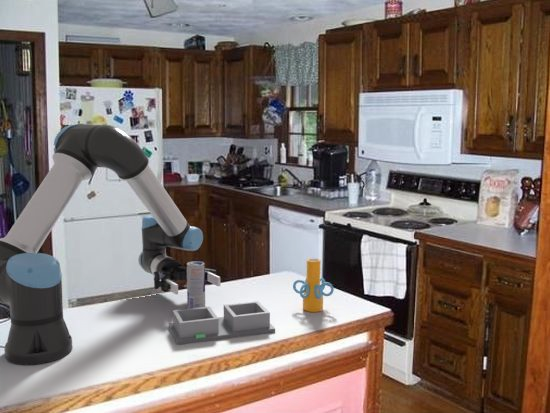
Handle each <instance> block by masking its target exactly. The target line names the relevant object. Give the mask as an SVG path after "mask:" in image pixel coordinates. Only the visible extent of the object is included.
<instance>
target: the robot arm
mask: <svg viewBox="0 0 550 413" xmlns="http://www.w3.org/2000/svg"><path fill="white" fill-rule="evenodd" d="M53 145H54V148H53V154H52V157H51V158H52V161H53V165H52V166H51V168H50V169H49V171H48V173H47V174H46V175H45V177H44V179H43V180H42V181H41V183H40V185H39V186H38V188H37V189H36V191H34V194H33V195H32V196H31V198H30V199H29V201H28V202H27V204H26V206H25V207H24V208H23V209H22V211H21V213H20V214H19V216H18V217H17V219H16V220H15V222H14V224H13V225H12V226H11V228H10V230H9V231H8V233H7V234H6V235H5V237H0V303H1V304H4V305H7V306H9V313H10V328H9V331H8V335H7V340H6V343H5V345H4V357H5V360H6V361H8V362H9V363H12V364H14V365H15V364H16V365H25V366H26V365H38V364H45V363H50V362H53V361H56V360H60V359H61V358H62V359H63V358H64V357H65V356H67V355H68V354H70V353H71V352H72V350H73V338H72V336H71V334H70V331H69V329H68V327H67V326H68V325H67V324H66V323H67V322H65V319H64V308H63V307H64V306H63V304H64V303H63V284H62V280H63V278H62V277H63V275H62V274H63V273H62V270H61V265H60V261H59V260H58V258H56V257H55V256H53V255H50V254H48V253H43V252H42V253H41V252H39V250H40V249H41V247H42V246H43V244H44V243H45V240H47V237H48V236H49V234H50V233H51V231H52V230H53V228H54V226H55V225H56V223H57V222H58V220H59V218H60V217H61V215H62V214H63V212H64V210H65V209H66V207H67V206H68V204H69V203H70V201H71V199H72V198H73V196H74V195H75V193H76V191H77V190H78V188H79V187H80V185H81V184H82V181H86V180H90V179H92V177H93V175H94V173H95V172H96V170H97V169H98V168H106V169H109V170H111V171H113V172H114V173H115V174H116V175H117V177H118V178H119V179H120V180H123V181H126V182H127V185H129V187H130V188H131V189H132V191H133V192H134V193H135V195H136V196H137V197H138V199H139V200H140V201H141V202H142V204H143V206H145V208H146V210H147V211H148V212H149V214H150V215H149V214H147V215H145V216H143V217H142V219H141V239H142V240H141V241H142V243H141V244H142V250H141V252H140V253H139V255H138V265H139V266H140V268H141V269H143V271H144V272H146V273H148V274H151V275H152V276H153V284H154V285H153V286H154V289H155V290H159V288H160V291H161V292H165V291H166V290H168V291H169V292H171V293H172V294H174V295H179V284H177V281H183V280H186V281H187V267H184V266H183V264H182V263H181V262H180V261H178V259H177V260H176V259H175V258H173V257H171V256H168V255H167V252H166V251H167V248H172V249H178V250H183V251H191V252H194V251H197V250H199V248H201V245H202V243H203V241H204V234H203V231H202V230H201V229H200V228H199V227H196V226H193V225H192V226H191V224H189V222H188V221H187V220H186V218H185V217H184V215H183V214H182V212H181V211H180V209H179V207H178V206H177V205H176V204H175V202H174V200H173V198H172V197H171V196H170V195H169V193H168V191H167V190H166V189H165V187H164V186H163V184H162V183H161V181H160V180H159V179H158V177H157V176H156V174H155V173H154V171H153V170H152V168H151V167H150V165H149V163H150V160H149V158H148V156H147V154H146V153H145V152H144V150H143V149H142V148H141V146H140V145H139V143H137V142H136V141H135V140H134V139H133V138H132V137H131V136H130V135H129V134H127V133H126V132H125V131H124V130H122V129H121V128H119V127H117V126H114V125H109V124H85V123H76V124H75V123H74V124H70V125H66V126H65V127H63V128H61V129H60V130H59V131H58V132H57V134H56V135H55V138H54V140H53ZM38 252H39V253H38ZM205 281H207V282H209V283H211V284H213V285H215V287H216V286H217V287H221V276H219V275H217V270H216V269H213V268H206V267H205Z"/></svg>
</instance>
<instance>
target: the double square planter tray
mask: <svg viewBox="0 0 550 413" xmlns="http://www.w3.org/2000/svg"><path fill="white" fill-rule="evenodd" d="M270 317H271V312H270V311H269V310H268V309H266V307H265V306H264V305H263V304H261V303H260V301H259V300H257V301H256V300H255V301H249V302H248V301H247V302H239V303H230V304H223V316H221V317H220V316H219V317H218V316H217V315H216V312H214V310H213V309H212V308H211V307H210V306H205V307H200V308H191V309H188V308H185V309H175V310H172V322H168V328H170V329H169V330H171V331H170V332H171V334H172V337H173V339H174V340H175V343H176V345H179V346H180V345H186V344H187V343H188V344H194V343H202V342H208V341H217V340H224V339H233V338H240V337H241V338H242V337H249V336H256V335H263V334H271V333H272V334H273V333H276V328H275V327H274V326H273V325H272V324H271V318H270Z"/></svg>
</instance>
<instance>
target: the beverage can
mask: <svg viewBox="0 0 550 413" xmlns="http://www.w3.org/2000/svg"><path fill="white" fill-rule="evenodd" d="M186 268H187V276H186V277H187V280H186V287H187V288H186V292H187V293H186V294H187V295H186V296H187V309H191V308H200V307H206V280H205V268H206V266H205V262H204V261H195V260H194V261H193V260H192V261H188V262H187V263H186Z"/></svg>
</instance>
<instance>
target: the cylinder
mask: <svg viewBox="0 0 550 413" xmlns="http://www.w3.org/2000/svg"><path fill="white" fill-rule="evenodd" d="M321 282H322V283H321ZM298 283H302V285H301V286H300V289H299V290H298V289H297V288H296V286H297V284H298ZM326 286H329V287H330V291H329V293H325V292H324V290H325V287H326ZM292 289H293V290H294V292H295V293H297V294H299V296H300V298H302V310H303V311H305V312H309V313H318V312H321V311H323V309H324V297H330V296H332V294H334V290H335V289H334V286H333V284H332V283H331V282H328V281H326V280H325V278H323V277H321V259H320V258H314V257H311V258H307V259H306V278H305V280H303V279H297V280H295V281H294V282H293V285H292Z"/></svg>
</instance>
